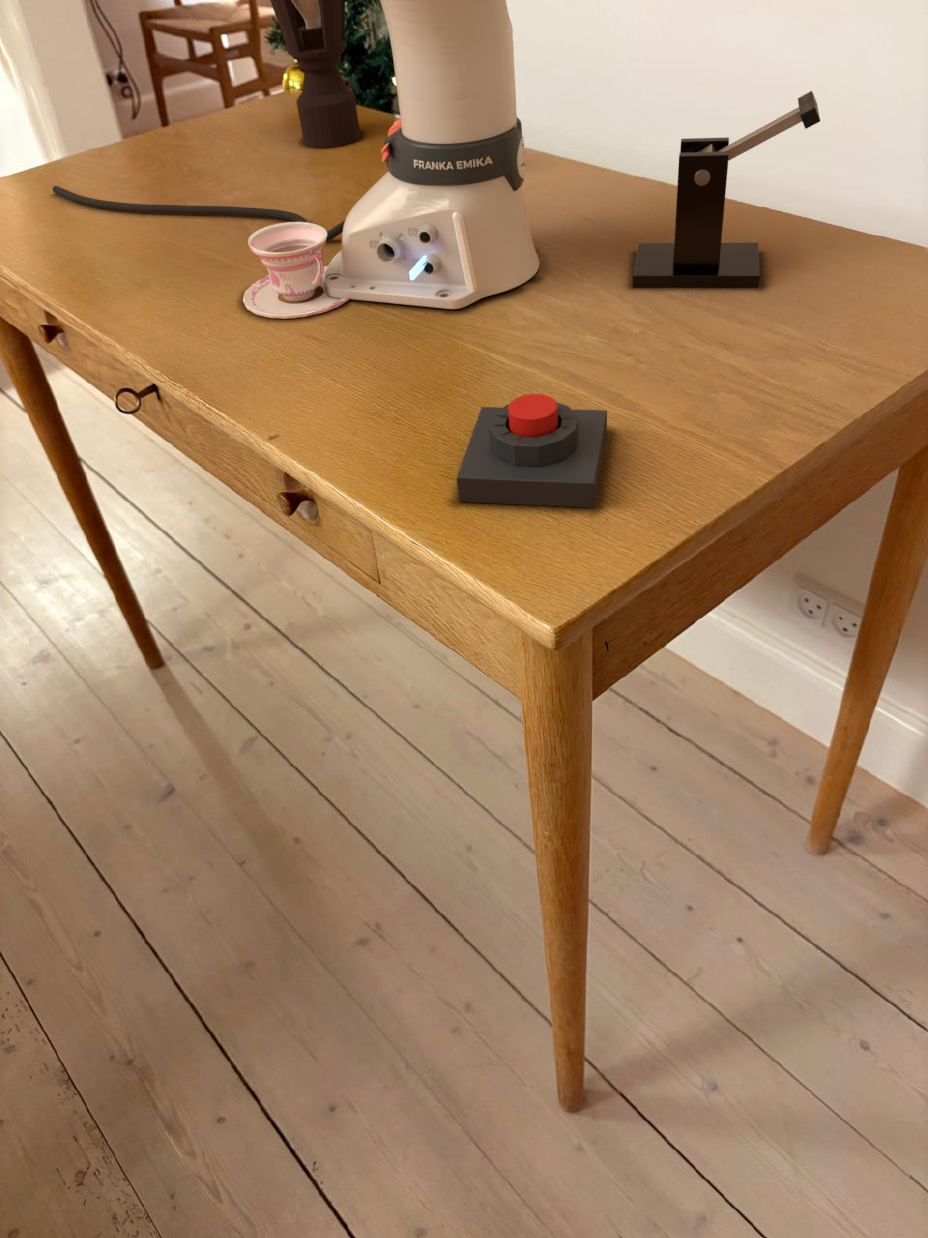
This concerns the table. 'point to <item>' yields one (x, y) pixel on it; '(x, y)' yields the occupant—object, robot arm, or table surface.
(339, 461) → the table surface
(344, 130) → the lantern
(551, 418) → the button
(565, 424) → the button box
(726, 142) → the bracket
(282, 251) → the teacup
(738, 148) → the lever
